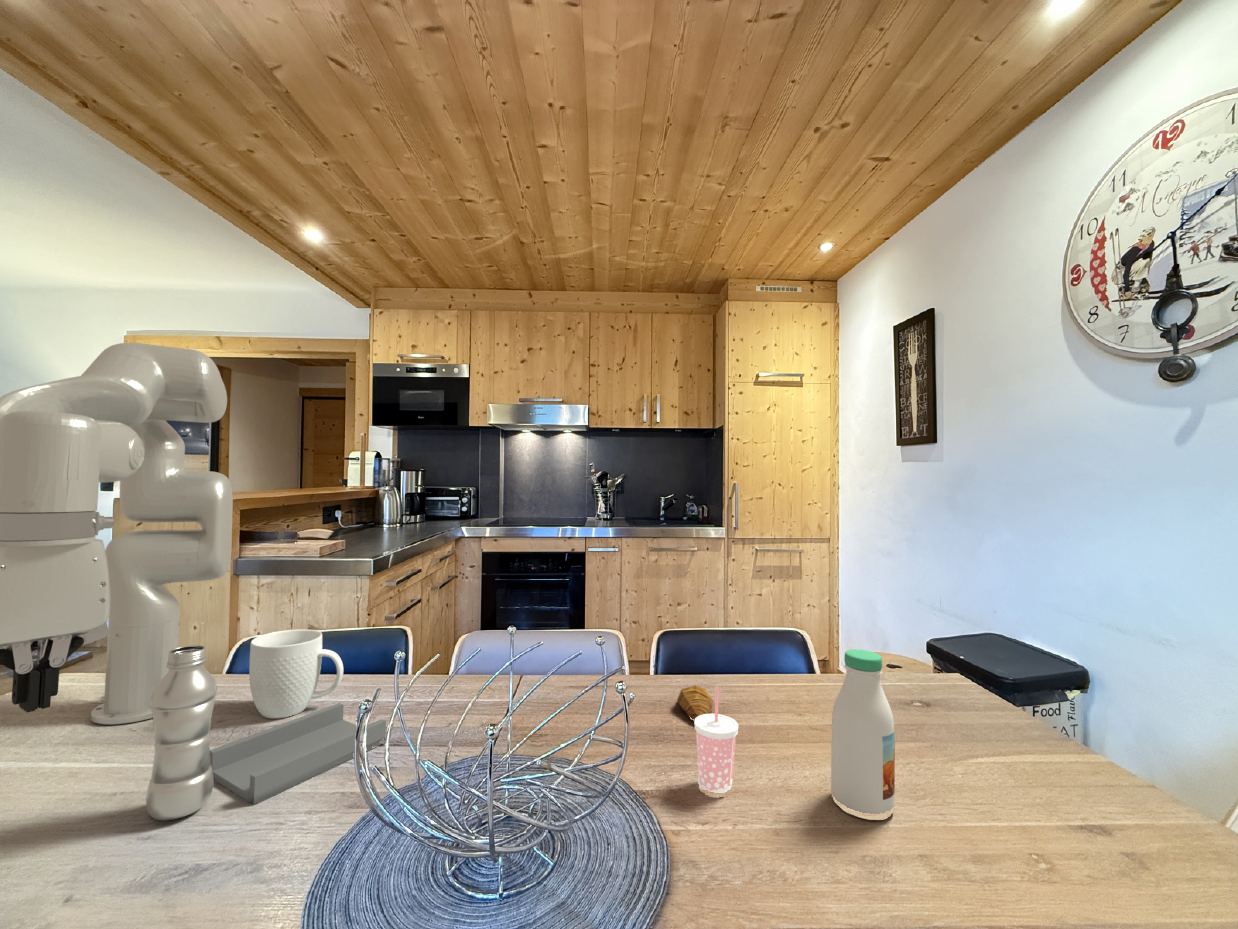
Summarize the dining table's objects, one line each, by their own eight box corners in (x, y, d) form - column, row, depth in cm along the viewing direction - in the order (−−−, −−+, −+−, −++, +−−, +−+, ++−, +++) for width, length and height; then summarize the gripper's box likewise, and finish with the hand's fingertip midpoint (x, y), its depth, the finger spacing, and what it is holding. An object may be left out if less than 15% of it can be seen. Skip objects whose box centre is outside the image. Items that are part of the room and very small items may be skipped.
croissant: (672, 697, 106) (672, 672, 106) (705, 697, 106) (706, 672, 106) (682, 729, 92) (682, 700, 92) (721, 729, 92) (721, 700, 92)
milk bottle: (867, 830, 66) (869, 666, 66) (818, 796, 72) (819, 648, 73) (907, 813, 69) (908, 658, 70) (856, 783, 76) (857, 642, 77)
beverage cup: (709, 771, 78) (711, 675, 79) (746, 789, 74) (748, 687, 74) (683, 787, 74) (686, 685, 74) (720, 807, 69) (722, 699, 70)
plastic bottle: (175, 832, 62) (183, 660, 63) (129, 824, 64) (138, 655, 64) (226, 800, 69) (233, 644, 69) (183, 793, 70) (191, 640, 71)
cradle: (207, 776, 74) (209, 750, 74) (338, 723, 90) (339, 703, 90) (253, 805, 68) (255, 777, 68) (385, 743, 84) (386, 721, 84)
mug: (349, 695, 102) (352, 627, 103) (332, 721, 91) (335, 644, 92) (263, 700, 99) (266, 629, 99) (234, 727, 88) (237, 648, 89)
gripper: (124, 524, 64) (115, 678, 63) (-78, 532, 51) (-93, 726, 50) (150, 527, 60) (141, 691, 60) (-61, 536, 48) (-76, 746, 47)
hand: (34, 706), depth 55 cm, fingers closed
